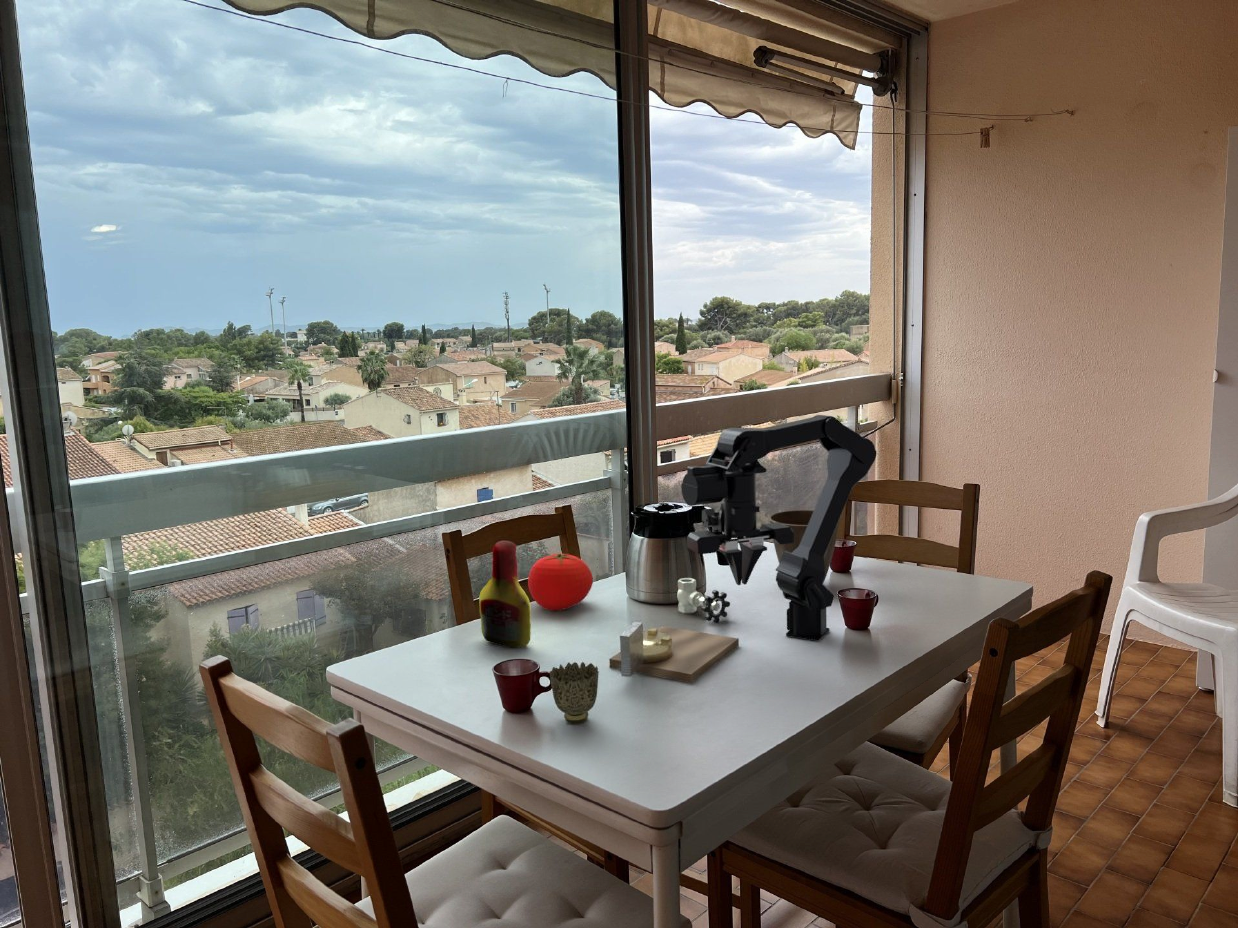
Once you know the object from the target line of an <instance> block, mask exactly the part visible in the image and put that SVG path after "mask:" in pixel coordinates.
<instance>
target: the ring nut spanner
mask: <svg viewBox="0 0 1238 928" xmlns="http://www.w3.org/2000/svg"><path fill="white" fill-rule="evenodd" d="M619 643H620V644H619V645H620V646H619V648H620V649H619V651H620V652H621V669H620V673H621V677H626V678H631V677H633V675H634V674H635V673H637V672H636V671H637V669H638V668H639V667H640V666H641V665H642V664H643V663H651V662H658V661H662V660H665V659H667V658H669V657H670V656H671V655H672V653H673V652H672V638H671V637H670V636H669V635H667V634H664V633H660V632H658V628H655V627H654V628H652V627H651V628H648V629H647V631H644V624H643V622H642V621H641V622H639V621H633V622H632V623H631V624H630V625H629V626H628V627H626V628H625V630H624V631H623V632H622V633H621V634H620V635H619Z"/></svg>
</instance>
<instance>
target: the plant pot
mask: <svg viewBox="0 0 1238 928" xmlns="http://www.w3.org/2000/svg"><path fill="white" fill-rule="evenodd" d="M813 512H814V510H813V509H812V510H811V509H795V510H794V509H793V510H784V511H780V512H776V513H773V514H772V515H770V516H769V523H776V522H779V523H782V524H784V525H786V526H789V527H791V529H792V530H793V532H794V542H793V543H788V544H778V543H777V542H776V541H775V540H774V539H772V541H773V545H774V551H775V553H776V554H775V555H776V557H777V560H778V565H779V564H780V562H781V559H782V555H783V553H784V552H785V551H787V552H790V553H792V552H793V551H794V550H795V549H796V548H798V546H799V545H800V542H801V540H802V538H803V535H804V533H805V531H806V528H807V526H808V523H809V521H810V519H811V516H812V514H813ZM839 522H840V520H839V521H838V524H837V526H836V529H835V531H834V533H833V536H832V538H831V541H830V543H829V545H828V548H827V550H826V553H825V555H824V566H825V576H824V580H823V584H825V583H824V582H825V580H826V578H827V575H828V573H829V570H830V566H831V564H832V559H833V556H834V553H835V552H834V551H835V546H836V542H837V538H838V537H837V536H838V529H839Z"/></svg>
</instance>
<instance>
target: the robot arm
mask: <svg viewBox="0 0 1238 928" xmlns="http://www.w3.org/2000/svg"><path fill="white" fill-rule="evenodd" d="M812 441H818V442H819V443H820V446H821V447H822V448H823V449H824V450H826V451H827V452H828V455H827V459H826V466H827V478H826V480H825V483H824V486H823V488H822V490H821V492H820V495H819V498H818V500H817V503H816V504H815V506H814V512H813V514H812V516H811V519H810V521H809V523H808V526H807V528H806V531H805V533H804V535H803V538H802V540H801V542H800V545H799V546H798V548H796V549H795V550H794V551H793V552H792V553H790V552H787V551H785V552H784V553H783V555H782V559H781V562H780V564H779V563H778V566H777V567H776V568H775V571H776V572H777V573H776V576H775V581H776V583H777V587H778V589H779V590H781V592H782V594H783V595H782V596H783V598H784V599H786V600H789V601H788V608H787V609H786V630H787V632H786V633H785V636H787V637H790V638H796V639H802V640H810V641H814V642H815V641H816V642H820V641H821V640H822V639H823V638H824V637H825V636H826V635H827V634H829V632H830V630H831V628H829V627H827V608H828V607H829V608H830V607H832V605H833V601H834V599H835V598H834V597H835V595H834V594H833V592H831V591H830V590H829V589H828V587H826V586H825V585H824V583H823V580H824V576H825V566H824V555H825V553H826V550H827V548H828V545H829V543H830V541H831V538H832V536H833V533H834V531H835V529H836V526H837V524H838V521H839V522H840V518H841V517H842V514H843V512H844V509H845V507H846V505H847V503H848V500H849V497H850V495H851V493H852V489H853V488H854V487H855V485H857V484H858V483H859V482H860V481H861V480H862V479H864V478H865V477H866V476H867V474H868V473H869V471H870V470H871V468H872V466H873V464H875V461H876V458H877V454H878V453H877V449H876V447H875V444H874V443H873V441H872V440H871V439H870V438H866V437H863V436H862V435H860V434H859V433H858V432H856V431H854V430H853V429H851V428H849V427H848V426H846V425H844V424H843V423H842V422H841V421H840V420H839V419H837V418H836V417H835V416H832V415H825V414H816V415H814V416H812V417H808V418H804V419H798V420H793V421H790V422H785V423H780V424H775V425H772V426H767V427H728V428H726V429H723V430H722V431H721V433H720V435H719V437H718V439H717V443H716V445H715V448H713V450H712V452H711V454H710V456H708V459H707V461H706V462H705V465H700V466H698V465H689V466H687V467H686V474H684V476H683V479H682V483H681V486H680V487H681V493H682V498H683V500H684V502H685V504H686V505H687V506H689V507H693V506H700V505H709V504H715V503H717V504H718V503H720V506H719V509H720V510H719V512H718V511H717V512H716V511H715V509H714V508H707V509H705V508H704V509H703V510H701V522H702V523H701V524H702V527H703V528H710V527H711V531H712V532H711V531H709V530H700V531H692V532H689V534H688V535H687V536H686V548H687V549H689V550H691V551H692V552H693V553H696V554H699V555H707V554H714V553H717V552H720V553H722V554H723V556H724V557H725V559H726V561H727V563H728V566H729V568H730V571H731V573H732V576H733V578H734V580H735V581H734V582H735V584H736V585H737V586H741V585H747V584H748V581H749V579H750V577H751V575H752V573H753V571H754V568H755V566H756V564H757V562H758V561H759V559H760V558H761V556H762V554H763V552H767V551H768V547H767V546H766V545H764V544H765V543H764V541H767V540H773V539H774V540H775V541H776V542H777V543H778V544H788V543H793V542H794V532H793V530H792V529H791V527H789V526H786V525H784V524H782V523H779V522H776V523H770V522H769V523H762V524H761V525H760V527H759V528H758V527H757V513H760V506H759V505H757V480H756V479H757V476H756V475H757V474H763V473H764V474H765V473H766V472H767V467H764V466H763V464H762V463H760V462H759V460H760V459H763V458H765V457H766V456H767V455H769V454H770V453H771V452H773V451H775V450H780V449H782V448H787V447H791V446H795V445H800V444H806V443H809V442H812ZM722 501H723V502H722ZM838 525H839V524H838ZM717 532H719V533H721V534H715V533H717ZM722 533H724V534H722ZM739 548H740V549H739Z"/></svg>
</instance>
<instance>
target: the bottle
mask: <svg viewBox="0 0 1238 928" xmlns="http://www.w3.org/2000/svg"><path fill="white" fill-rule="evenodd" d="M517 546H518V545H517V544H516V543H514V542H512V541H510V540H500V541H497V542H496V543H495V544H494V545H493V548H492V553H491V554H492V572H491V578H490V579H489V581H488V582H487V583H486V585H484V586H483V588H481V591H480V593H479V596H478V600H479V603H478V605H479V616H480V624H481V628H480V629H481V633H482V636H483V638H484V640H485V641H486V642H489V643H493V644H496V645H499V646H503V647H506V648H512V649H517V648H522V647H525V646H527V645H529V643H530V642H531V634H532V633H531V631H532V630H531V629H532V624H531V619H532V617H531V613H532V610H531V609H532V608H531V603H530V599H529V597H528V595H527V594H526V591H524V589H523V587H522V586H521V585H520V583H519V573H518V558H517Z"/></svg>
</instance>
